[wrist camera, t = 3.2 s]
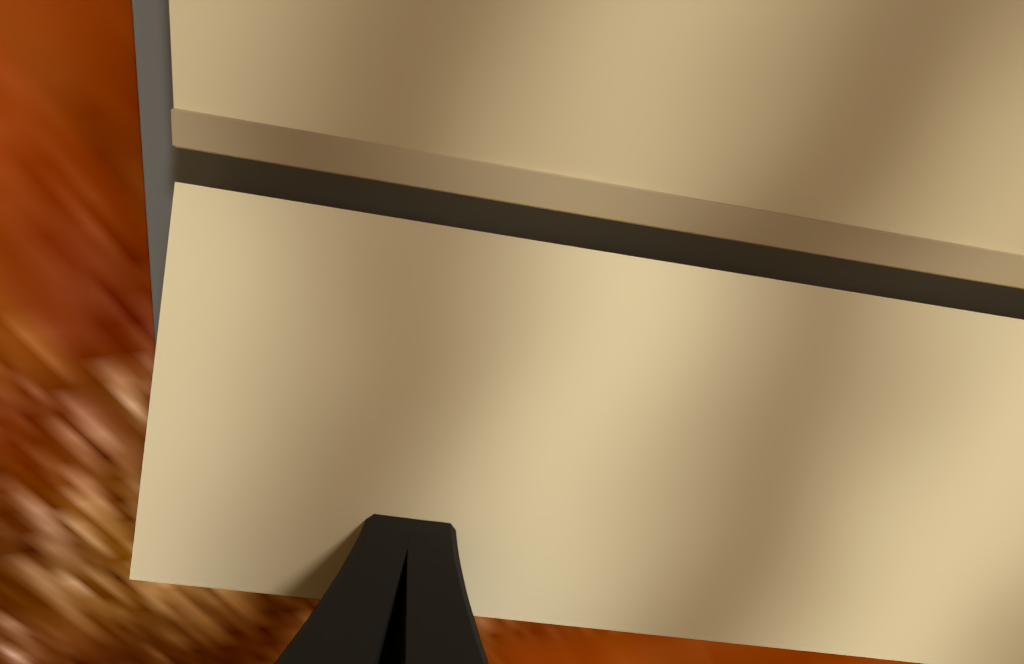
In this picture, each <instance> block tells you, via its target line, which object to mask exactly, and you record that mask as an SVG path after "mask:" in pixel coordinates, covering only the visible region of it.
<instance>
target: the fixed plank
mask: <svg viewBox="0 0 1024 664" xmlns="http://www.w3.org/2000/svg"><path fill="white" fill-rule="evenodd" d="M169 14H170V36H171V58H172V80H173V102H174V108H172V109H171V123H172V144H173V146H176V147H177V148H183V149H189V150H195V151H201V152H207V153H213V154H219V155H225V156H231V157H237V158H243V159H249V160H255V161H261V162H267V163H273V164H279V165H285V166H291V167H296V168H302V169H308V170H314V171H320V172H326V173H332V174H338V175H344V176H350V177H356V178H362V179H368V180H374V181H380V182H386V183H392V184H398V185H404V186H410V187H416V188H422V189H428V190H434V191H440V192H446V193H452V194H458V195H464V196H470V197H476V198H482V199H488V200H493V201H499V202H505V203H511V204H517V205H523V206H529V207H535V208H541V209H547V210H553V211H559V212H565V213H571V214H577V215H583V216H589V217H595V218H601V219H607V220H613V221H619V222H625V223H631V224H637V225H643V226H649V227H655V228H661V229H667V230H673V231H679V232H685V233H690V234H696V235H702V236H708V237H714V238H720V239H726V240H732V241H738V242H744V243H750V244H756V245H762V246H768V247H774V248H780V249H786V250H792V251H798V252H804V253H810V254H816V255H822V256H828V257H834V258H840V259H846V260H852V261H858V262H864V263H870V264H876V265H881V266H887V267H893V268H899V269H905V270H911V271H917V272H923V273H929V274H935V275H941V276H947V277H953V278H959V279H965V280H971V281H977V282H983V283H989V284H995V285H1001V286H1007V287H1013V288H1019V289H1024V0H169Z"/></svg>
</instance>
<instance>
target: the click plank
mask: <svg viewBox="0 0 1024 664" xmlns="http://www.w3.org/2000/svg"><path fill="white" fill-rule="evenodd" d="M373 514H380V515H387V516H395V517H403V518H412V519H420V520H428V521H437V522H446V523H451V524H452V526H453V527H454V528H455V530H456V536H457V545H458V552H459V558H460V563H461V569H462V573H463V578H464V582H465V586H466V591H467V595H468V598H469V602H470V606H471V609H472V613H473V616H481V617H491V618H500V619H510V620H519V621H529V622H538V623H548V624H557V625H566V626H576V627H585V628H595V629H604V630H614V631H623V632H632V633H642V634H651V635H661V636H670V637H680V638H689V639H698V640H708V641H717V642H727V643H736V644H746V645H755V646H765V647H774V648H783V649H793V650H802V651H812V652H821V653H831V654H840V655H849V656H859V657H868V658H878V659H887V660H897V661H906V662H915V663H925V664H1024V320H1022V319H1015V318H1009V317H1003V316H997V315H991V314H985V313H978V312H972V311H966V310H960V309H954V308H948V307H942V306H935V305H929V304H923V303H917V302H911V301H905V300H899V299H892V298H886V297H880V296H874V295H868V294H862V293H856V292H849V291H843V290H837V289H831V288H825V287H819V286H812V285H806V284H800V283H794V282H788V281H782V280H776V279H769V278H763V277H757V276H751V275H745V274H739V273H733V272H726V271H720V270H714V269H708V268H702V267H696V266H689V265H683V264H677V263H671V262H665V261H659V260H653V259H646V258H640V257H634V256H628V255H622V254H616V253H610V252H603V251H597V250H591V249H585V248H579V247H573V246H567V245H560V244H554V243H548V242H542V241H536V240H530V239H523V238H517V237H511V236H505V235H499V234H493V233H487V232H480V231H474V230H468V229H462V228H456V227H450V226H444V225H437V224H431V223H425V222H419V221H413V220H407V219H401V218H394V217H388V216H382V215H376V214H370V213H364V212H357V211H351V210H345V209H339V208H333V207H327V206H321V205H314V204H308V203H302V202H296V201H290V200H284V199H278V198H271V197H265V196H259V195H253V194H247V193H241V192H235V191H228V190H222V189H216V188H210V187H204V186H198V185H191V184H185V183H179V182H175V185H174V194H173V203H172V212H171V220H170V229H169V238H168V247H167V255H166V264H165V273H164V282H163V290H162V299H161V308H160V317H159V325H158V334H157V343H156V352H155V360H154V369H153V378H152V387H151V395H150V404H149V413H148V422H147V430H146V439H145V448H144V457H143V465H142V474H141V483H140V492H139V500H138V509H137V518H136V527H135V535H134V544H133V553H132V562H131V570H130V579H132V580H142V581H151V582H161V583H170V584H180V585H189V586H198V587H208V588H217V589H227V590H236V591H246V592H255V593H264V594H274V595H283V596H293V597H302V598H312V599H321V598H322V597H323V595H324V594H325V592H326V591H327V589H328V588H329V586H330V585H331V583H332V582H333V580H334V578H335V577H336V575H337V574H338V572H339V570H340V569H341V567H342V565H343V564H344V562H345V560H346V558H347V557H348V555H349V553H350V551H351V550H352V548H353V546H354V544H355V542H356V540H357V538H358V536H359V534H360V532H361V530H362V528H363V525H364V523H365V520H366V519H367V518H369V517H370V516H371V515H373Z"/></svg>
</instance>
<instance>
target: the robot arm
mask: <svg viewBox="0 0 1024 664" xmlns="http://www.w3.org/2000/svg"><path fill="white" fill-rule="evenodd" d="M274 664H489V663H488V660H487V657H486V654H485V651H484V648H483V645H482V642H481V639H480V636H479V633H478V629H477V626H476V623H475V619H474V616H473V613H472V609H471V606H470V602H469V598H468V595H467V591H466V586H465V582H464V578H463V573H462V569H461V563H460V558H459V552H458V545H457V536H456V530H455V528H454V527H453V526H452V524H451V523H446V522H437V521H428V520H420V519H412V518H403V517H395V516H387V515H380V514H373V515H371V516H370V517H369V518H367V519H366V520H365V523H364V525H363V528H362V530H361V532H360V534H359V536H358V538H357V540H356V542H355V544H354V546H353V548H352V550H351V551H350V553H349V555H348V557H347V558H346V560H345V562H344V564H343V565H342V567H341V569H340V570H339V572H338V574H337V575H336V577H335V578H334V580H333V582H332V583H331V585H330V586H329V588H328V589H327V591H326V592H325V594H324V595H323V597H322V598H321V600H320V601H319V603H318V605H317V606H316V608H315V609H314V611H313V612H312V613H311V615H310V616H309V618H308V619H307V621H306V622H305V623H304V625H303V626H302V627H301V629H300V630H299V631H298V633H297V634H296V635H295V637H294V638H293V639H292V641H291V642H290V643H289V645H288V646H287V647H286V649H285V650H284V651H283V653H282V654H281V655H280V657H279V658H278V659H277V661H276V662H275V663H274Z"/></svg>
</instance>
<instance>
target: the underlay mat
mask: <svg viewBox="0 0 1024 664" xmlns="http://www.w3.org/2000/svg"><path fill="white" fill-rule="evenodd" d="M132 6H133V21H134V36H135V50H136V65H137V80H138V95H139V109H140V124H141V139H142V154H143V169H144V183H145V198H146V213H147V228H148V242H149V257H150V272H151V287H152V301H153V316H154V331H155V346H156V343H157V334H158V325H159V317H160V308H161V299H162V290H163V282H164V273H165V264H166V255H167V247H168V238H169V229H170V220H171V212H172V203H173V194H174V185H175V182H179V183H185V184H191V185H198V186H204V187H210V188H216V189H222V190H228V191H235V192H241V193H247V194H253V195H259V196H265V197H271V198H278V199H284V200H290V201H296V202H302V203H308V204H314V205H321V206H327V207H333V208H339V209H345V210H351V211H357V212H364V213H370V214H376V215H382V216H388V217H394V218H401V219H407V220H413V221H419V222H425V223H431V224H437V225H444V226H450V227H456V228H462V229H468V230H474V231H480V232H487V233H493V234H499V235H505V236H511V237H517V238H523V239H530V240H536V241H542V242H548V243H554V244H560V245H567V246H573V247H579V248H585V249H591V250H597V251H603V252H610V253H616V254H622V255H628V256H634V257H640V258H646V259H653V260H659V261H665V262H671V263H677V264H683V265H689V266H696V267H702V268H708V269H714V270H720V271H726V272H733V273H739V274H745V275H751V276H757V277H763V278H769V279H776V280H782V281H788V282H794V283H800V284H806V285H812V286H819V287H825V288H831V289H837V290H843V291H849V292H856V293H862V294H868V295H874V296H880V297H886V298H892V299H899V300H905V301H911V302H917V303H923V304H929V305H935V306H942V307H948V308H954V309H960V310H966V311H972V312H978V313H985V314H991V315H997V316H1003V317H1009V318H1015V319H1022V320H1024V289H1019V288H1013V287H1007V286H1001V285H995V284H989V283H983V282H977V281H971V280H965V279H959V278H953V277H947V276H941V275H935V274H929V273H923V272H917V271H911V270H905V269H899V268H893V267H887V266H881V265H876V264H870V263H864V262H858V261H852V260H846V259H840V258H834V257H828V256H822V255H816V254H810V253H804V252H798V251H792V250H786V249H780V248H774V247H768V246H762V245H756V244H750V243H744V242H738V241H732V240H726V239H720V238H714V237H708V236H702V235H696V234H690V233H685V232H679V231H673V230H667V229H661V228H655V227H649V226H643V225H637V224H631V223H625V222H619V221H613V220H607V219H601V218H595V217H589V216H583V215H577V214H571V213H565V212H559V211H553V210H547V209H541V208H535V207H529V206H523V205H517V204H511V203H505V202H499V201H493V200H488V199H482V198H476V197H470V196H464V195H458V194H452V193H446V192H440V191H434V190H428V189H422V188H416V187H410V186H404V185H398V184H392V183H386V182H380V181H374V180H368V179H362V178H356V177H350V176H344V175H338V174H332V173H326V172H320V171H314V170H308V169H302V168H296V167H291V166H285V165H279V164H273V163H267V162H261V161H255V160H249V159H243V158H237V157H231V156H225V155H219V154H213V153H207V152H201V151H195V150H189V149H183V148H177V147H176V146H173V144H172V123H171V109H172V108H174V102H173V80H172V58H171V36H170V14H169V0H132Z"/></svg>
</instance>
